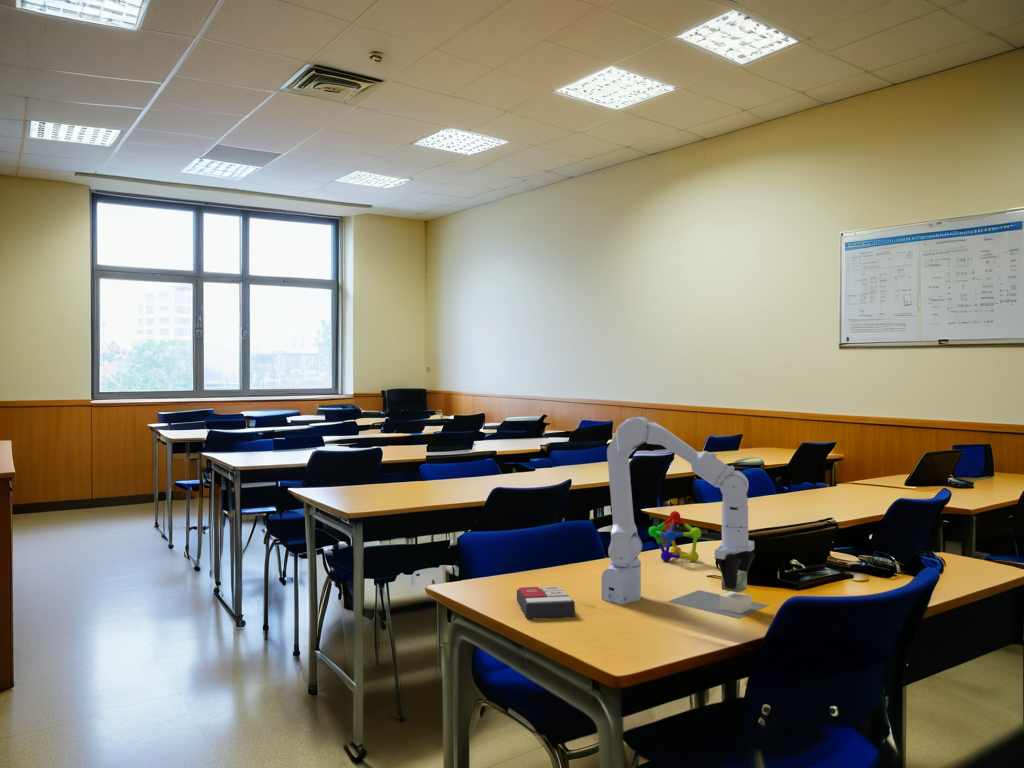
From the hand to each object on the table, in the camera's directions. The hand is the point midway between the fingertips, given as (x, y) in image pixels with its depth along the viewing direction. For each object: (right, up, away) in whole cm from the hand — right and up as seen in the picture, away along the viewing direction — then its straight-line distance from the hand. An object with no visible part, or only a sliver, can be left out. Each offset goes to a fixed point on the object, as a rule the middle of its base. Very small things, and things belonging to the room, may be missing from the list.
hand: (735, 586), depth 160 cm
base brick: (0, -5, 0) cm, 5 cm away
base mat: (-3, -6, +4) cm, 8 cm away
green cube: (0, -1, 0) cm, 1 cm away
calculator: (-43, -7, +4) cm, 44 cm away
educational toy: (-2, -7, +52) cm, 52 cm away
